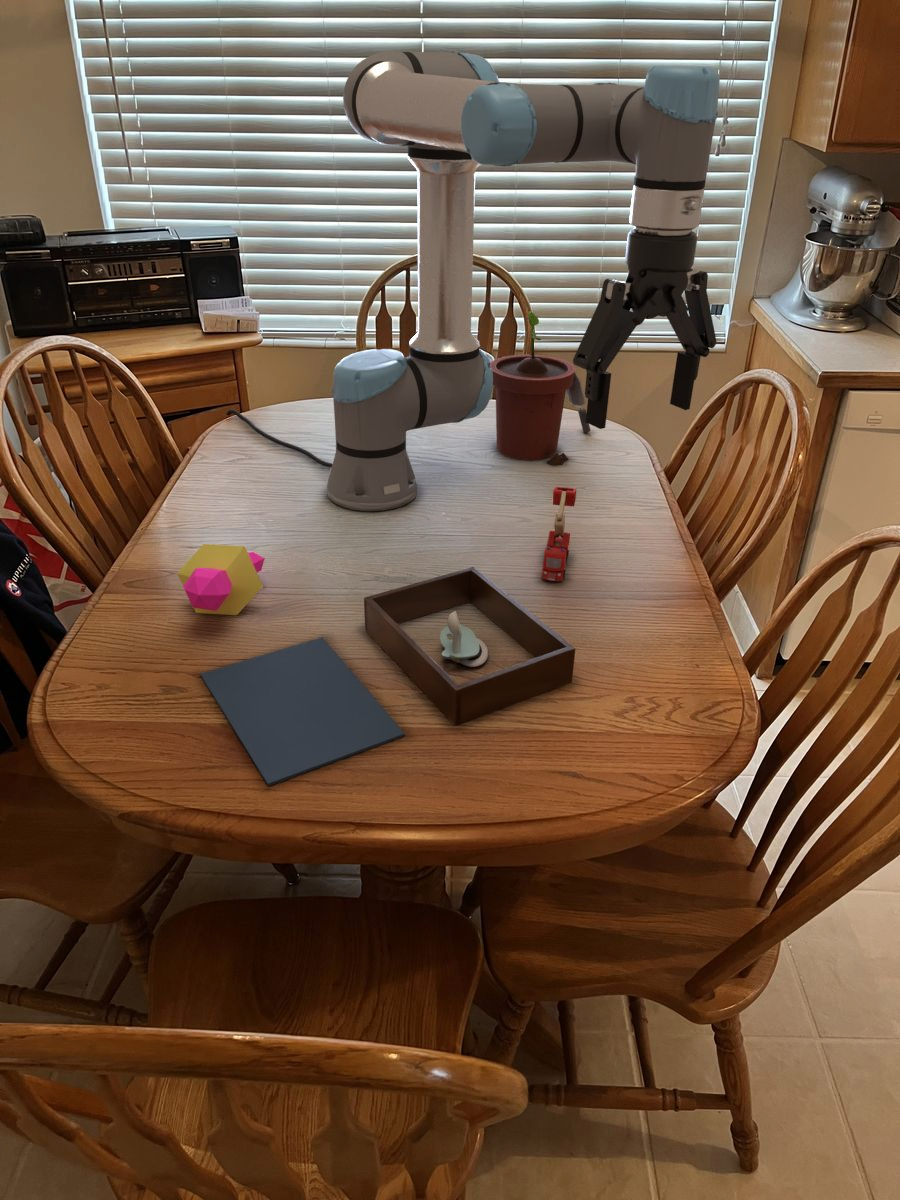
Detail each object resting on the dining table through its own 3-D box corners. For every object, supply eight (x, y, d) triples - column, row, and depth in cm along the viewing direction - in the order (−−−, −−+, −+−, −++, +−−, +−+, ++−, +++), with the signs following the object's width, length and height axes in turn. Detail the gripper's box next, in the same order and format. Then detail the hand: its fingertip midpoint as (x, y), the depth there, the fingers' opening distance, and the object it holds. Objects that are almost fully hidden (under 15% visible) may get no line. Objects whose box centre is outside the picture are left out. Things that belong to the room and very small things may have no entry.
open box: (364, 630, 117) (363, 597, 115) (471, 597, 125) (473, 566, 122) (454, 726, 101) (456, 690, 98) (572, 682, 108) (575, 648, 106)
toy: (288, 585, 128) (258, 518, 126) (252, 619, 111) (216, 542, 109) (225, 609, 130) (195, 543, 128) (180, 646, 113) (144, 571, 111)
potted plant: (482, 430, 180) (487, 303, 167) (589, 431, 181) (602, 304, 168) (488, 465, 165) (494, 327, 152) (605, 465, 166) (621, 328, 153)
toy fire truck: (540, 582, 129) (545, 521, 124) (550, 539, 140) (555, 482, 135) (563, 585, 128) (569, 524, 123) (571, 541, 140) (577, 484, 135)
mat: (200, 676, 108) (200, 673, 108) (322, 639, 115) (322, 637, 115) (268, 786, 92) (267, 783, 92) (404, 736, 99) (404, 733, 99)
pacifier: (485, 639, 116) (438, 639, 116) (488, 598, 113) (441, 597, 113) (490, 672, 110) (441, 672, 110) (494, 630, 107) (444, 629, 106)
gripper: (597, 243, 90) (577, 444, 101) (768, 226, 101) (734, 408, 112) (551, 232, 95) (537, 423, 106) (719, 217, 107) (691, 391, 118)
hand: (638, 415), depth 109 cm, fingers open, 13 cm apart
